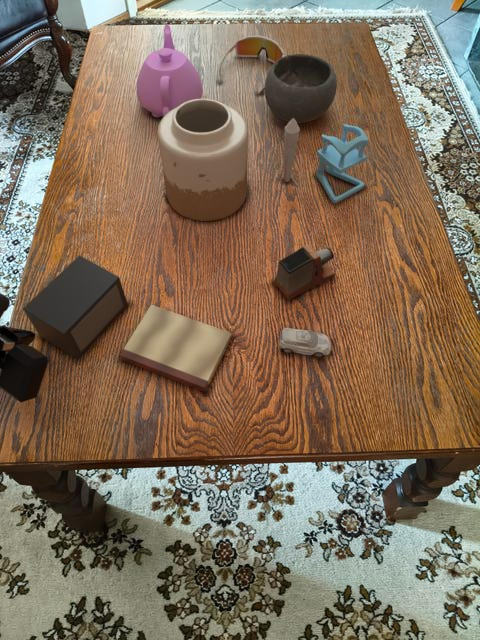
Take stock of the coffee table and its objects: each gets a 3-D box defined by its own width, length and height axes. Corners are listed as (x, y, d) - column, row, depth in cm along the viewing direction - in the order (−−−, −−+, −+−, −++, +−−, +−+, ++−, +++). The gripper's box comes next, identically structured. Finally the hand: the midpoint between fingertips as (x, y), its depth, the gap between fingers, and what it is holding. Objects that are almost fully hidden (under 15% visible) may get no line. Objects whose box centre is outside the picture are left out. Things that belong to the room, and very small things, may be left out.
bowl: (250, 120, 109) (251, 75, 101) (285, 86, 116) (289, 42, 108) (310, 144, 105) (316, 100, 96) (343, 108, 112) (351, 64, 103)
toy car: (329, 359, 77) (333, 349, 75) (277, 352, 78) (279, 342, 75) (331, 338, 79) (334, 328, 77) (280, 332, 80) (281, 322, 77)
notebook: (120, 360, 77) (118, 354, 75) (152, 309, 82) (150, 303, 81) (205, 392, 74) (204, 387, 73) (232, 337, 79) (232, 332, 78)
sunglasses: (292, 62, 121) (293, 43, 117) (266, 104, 115) (266, 85, 111) (238, 48, 124) (237, 29, 120) (211, 88, 119) (209, 70, 114)
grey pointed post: (295, 184, 98) (303, 121, 86) (282, 186, 98) (288, 124, 86) (290, 175, 100) (298, 112, 88) (277, 178, 99) (283, 115, 87)
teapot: (143, 77, 118) (134, 23, 107) (204, 76, 118) (201, 22, 108) (135, 131, 107) (125, 77, 96) (202, 131, 107) (199, 76, 97)
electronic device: (335, 278, 86) (342, 249, 79) (287, 302, 83) (291, 274, 77) (319, 261, 88) (325, 231, 81) (273, 284, 85) (275, 255, 79)
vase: (261, 203, 95) (266, 126, 81) (189, 233, 91) (181, 157, 77) (222, 156, 102) (219, 78, 88) (153, 183, 98) (139, 105, 84)
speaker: (78, 360, 77) (64, 334, 70) (39, 335, 79) (22, 308, 73) (128, 305, 82) (120, 277, 76) (90, 284, 85) (79, 254, 78)
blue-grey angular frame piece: (335, 164, 101) (346, 111, 91) (364, 187, 98) (379, 135, 88) (306, 179, 99) (314, 126, 89) (334, 204, 95) (346, 151, 85)
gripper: (5, 331, 52) (101, 315, 66) (-110, 254, 57) (1, 255, 72) (-22, 420, 55) (75, 387, 69) (-130, 339, 60) (-19, 324, 75)
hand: (33, 335), depth 71 cm, fingers closed
